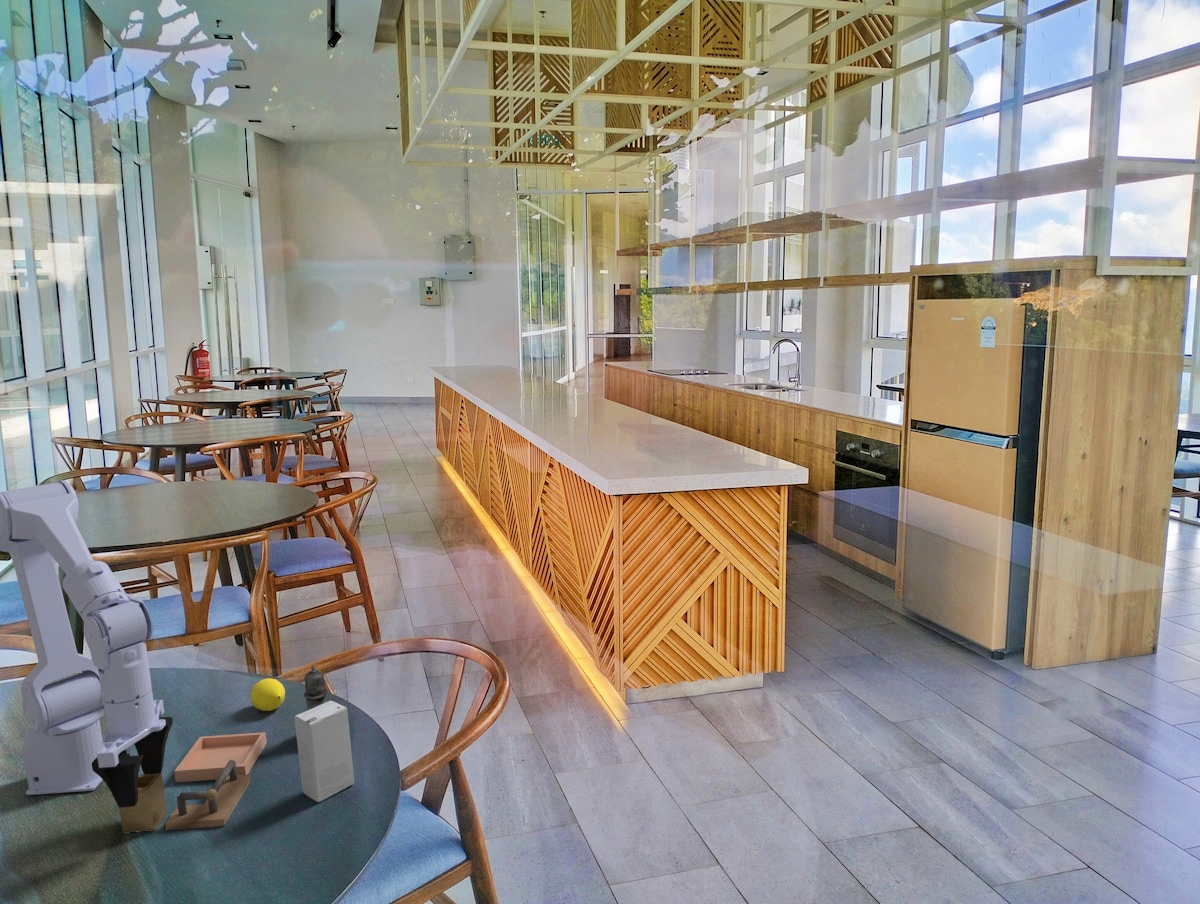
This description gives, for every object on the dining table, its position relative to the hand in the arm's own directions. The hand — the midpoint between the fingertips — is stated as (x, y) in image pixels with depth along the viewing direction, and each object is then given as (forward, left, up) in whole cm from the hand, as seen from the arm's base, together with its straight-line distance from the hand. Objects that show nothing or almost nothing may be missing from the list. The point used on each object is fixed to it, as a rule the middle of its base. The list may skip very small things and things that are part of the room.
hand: (141, 789), depth 115 cm
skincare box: (+23, +5, -5) cm, 24 cm away
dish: (+5, +15, -5) cm, 17 cm away
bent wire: (+7, +4, -5) cm, 10 cm away
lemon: (+7, +32, -5) cm, 33 cm away
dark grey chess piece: (+18, +21, -5) cm, 28 cm away
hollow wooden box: (0, 0, -5) cm, 5 cm away
